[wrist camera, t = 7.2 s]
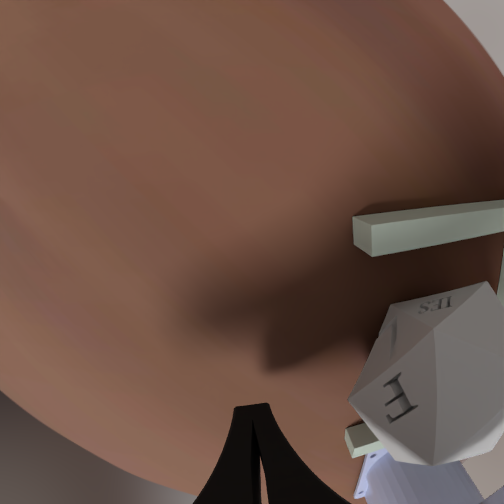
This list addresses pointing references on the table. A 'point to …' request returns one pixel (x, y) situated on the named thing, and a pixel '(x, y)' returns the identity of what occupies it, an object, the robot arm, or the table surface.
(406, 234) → the bay
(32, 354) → the table surface
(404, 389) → the die
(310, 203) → the table surface
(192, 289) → the table surface
